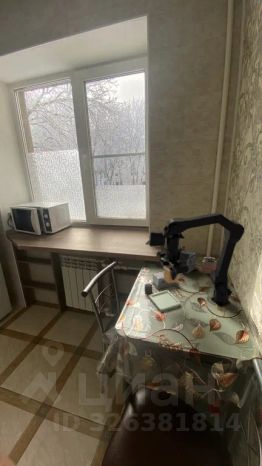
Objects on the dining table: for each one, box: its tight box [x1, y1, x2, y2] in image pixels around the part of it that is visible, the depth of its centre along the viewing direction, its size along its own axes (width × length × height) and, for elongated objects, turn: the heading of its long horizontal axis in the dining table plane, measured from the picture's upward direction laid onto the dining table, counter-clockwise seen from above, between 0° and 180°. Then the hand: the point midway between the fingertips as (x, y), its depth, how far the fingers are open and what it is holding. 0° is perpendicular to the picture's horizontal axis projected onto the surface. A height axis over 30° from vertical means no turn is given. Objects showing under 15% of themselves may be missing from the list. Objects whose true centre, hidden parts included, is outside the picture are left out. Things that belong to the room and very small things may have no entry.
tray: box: [148, 289, 182, 313], centre depth 101 cm, size 12×11×1 cm
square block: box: [163, 264, 179, 283], centre depth 97 cm, size 5×5×7 cm
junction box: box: [150, 270, 180, 291], centre depth 115 cm, size 7×13×6 cm, turn 112°
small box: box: [177, 250, 197, 275], centre depth 128 cm, size 11×6×10 cm, turn 134°
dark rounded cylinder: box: [144, 283, 153, 296], centre depth 108 cm, size 4×4×4 cm
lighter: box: [201, 256, 218, 275], centre depth 124 cm, size 8×3×10 cm, turn 77°
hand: (170, 277), depth 98 cm, fingers closed on square block, 4 cm apart
